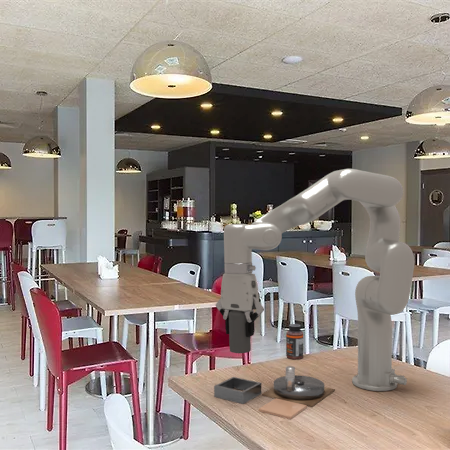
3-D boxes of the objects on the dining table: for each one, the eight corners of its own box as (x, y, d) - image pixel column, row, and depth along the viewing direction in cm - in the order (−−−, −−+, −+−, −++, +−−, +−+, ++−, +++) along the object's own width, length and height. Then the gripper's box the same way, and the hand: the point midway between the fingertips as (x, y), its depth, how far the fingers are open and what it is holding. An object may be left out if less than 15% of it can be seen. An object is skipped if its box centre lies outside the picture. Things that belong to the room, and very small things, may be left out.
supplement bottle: (282, 356, 176) (282, 324, 176) (294, 354, 180) (294, 322, 179) (294, 360, 171) (294, 327, 171) (306, 357, 175) (307, 325, 175)
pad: (306, 407, 130) (306, 405, 130) (290, 419, 122) (290, 416, 122) (276, 400, 135) (276, 398, 135) (258, 411, 127) (258, 408, 127)
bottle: (249, 353, 135) (247, 298, 135) (227, 353, 136) (226, 297, 136) (252, 348, 141) (251, 294, 141) (231, 347, 142) (230, 294, 142)
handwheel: (285, 379, 150) (285, 352, 150) (331, 387, 143) (331, 359, 143) (264, 393, 138) (264, 364, 138) (313, 403, 131) (313, 372, 130)
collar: (261, 393, 140) (261, 382, 140) (243, 404, 132) (243, 392, 132) (233, 387, 145) (233, 376, 145) (214, 396, 138) (214, 385, 138)
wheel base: (334, 390, 142) (334, 389, 142) (312, 407, 130) (312, 405, 130) (287, 380, 151) (287, 379, 151) (261, 395, 138) (261, 394, 138)
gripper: (272, 269, 136) (274, 335, 137) (220, 266, 146) (222, 328, 147) (258, 272, 130) (259, 341, 131) (205, 269, 140) (206, 333, 140)
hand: (239, 333), depth 139 cm, fingers closed on bottle, 5 cm apart
